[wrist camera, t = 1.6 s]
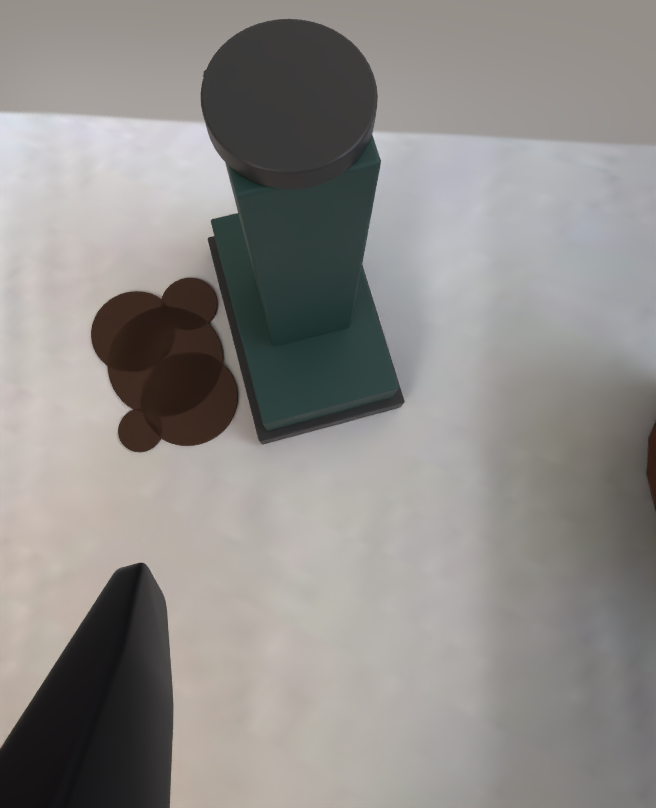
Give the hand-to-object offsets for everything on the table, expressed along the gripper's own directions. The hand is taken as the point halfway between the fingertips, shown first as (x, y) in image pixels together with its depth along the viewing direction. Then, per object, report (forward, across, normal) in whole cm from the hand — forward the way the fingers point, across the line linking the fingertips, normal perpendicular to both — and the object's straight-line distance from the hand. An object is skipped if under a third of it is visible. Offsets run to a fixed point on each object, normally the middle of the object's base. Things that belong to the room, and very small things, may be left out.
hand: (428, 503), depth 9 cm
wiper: (+15, 0, +4) cm, 16 cm away
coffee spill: (+15, +6, +4) cm, 17 cm away
